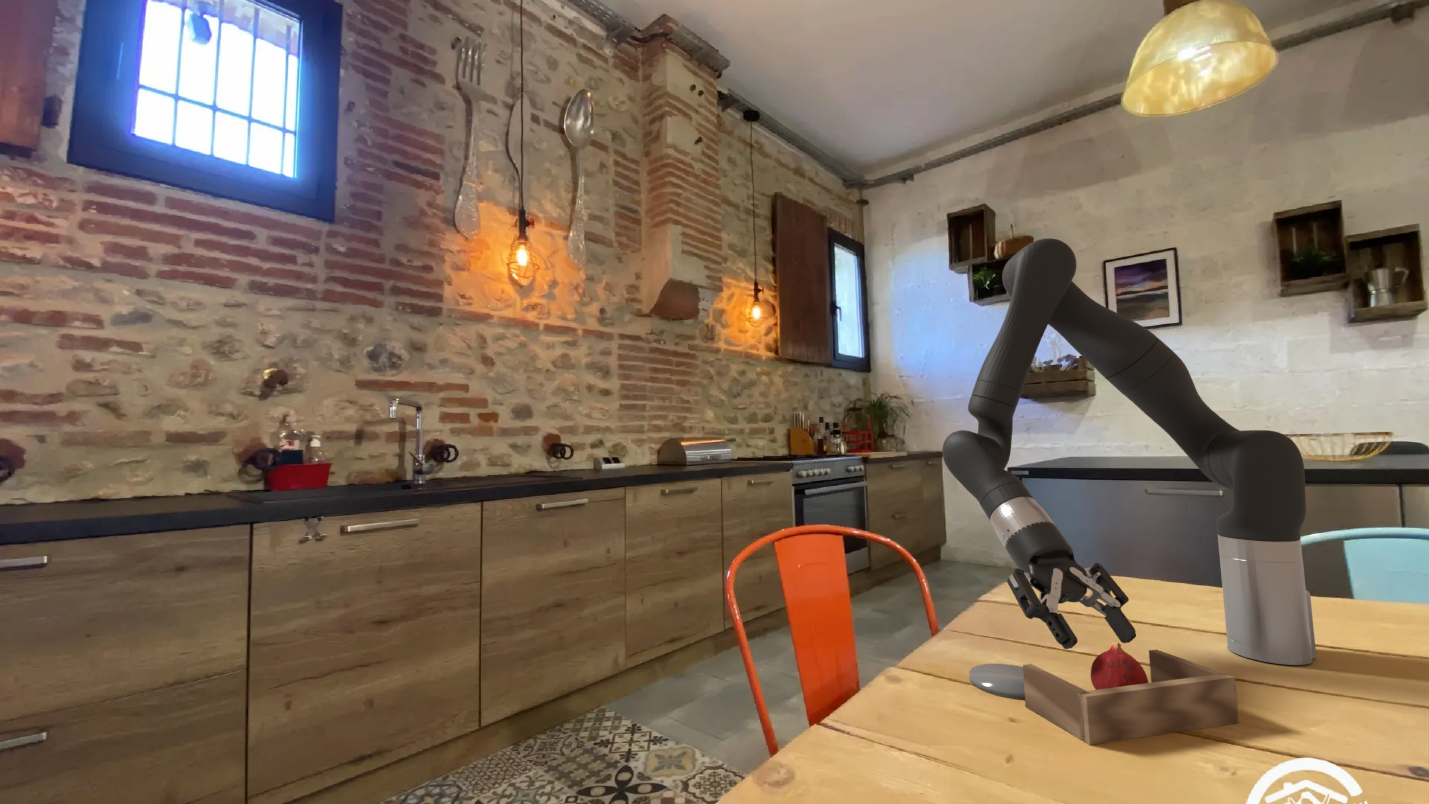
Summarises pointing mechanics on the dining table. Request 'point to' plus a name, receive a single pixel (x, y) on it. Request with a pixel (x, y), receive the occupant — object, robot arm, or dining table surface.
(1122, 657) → the onion
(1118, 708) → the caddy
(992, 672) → the stone
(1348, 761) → the dining table surface
